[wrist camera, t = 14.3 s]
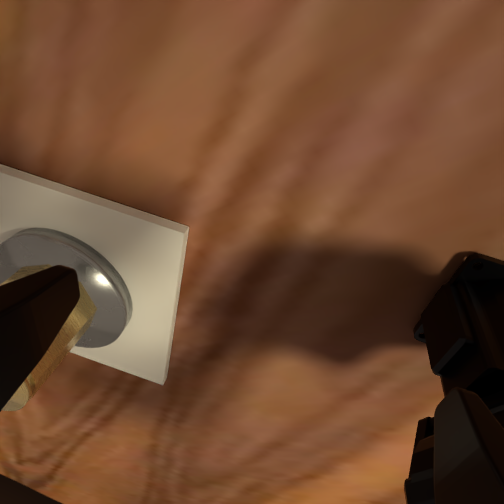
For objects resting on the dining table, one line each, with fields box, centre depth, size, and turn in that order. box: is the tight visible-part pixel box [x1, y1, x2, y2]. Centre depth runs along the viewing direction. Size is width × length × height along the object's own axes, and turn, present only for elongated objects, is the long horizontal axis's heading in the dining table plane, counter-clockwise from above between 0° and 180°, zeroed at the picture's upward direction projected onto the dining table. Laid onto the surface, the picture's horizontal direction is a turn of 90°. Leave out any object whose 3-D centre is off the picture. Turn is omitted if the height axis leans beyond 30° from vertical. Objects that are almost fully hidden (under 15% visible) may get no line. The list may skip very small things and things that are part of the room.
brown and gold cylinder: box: [0, 264, 97, 411], centre depth 23 cm, size 6×6×7 cm
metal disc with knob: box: [0, 228, 133, 348], centre depth 24 cm, size 10×10×6 cm
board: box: [0, 164, 189, 385], centre depth 27 cm, size 18×16×1 cm
